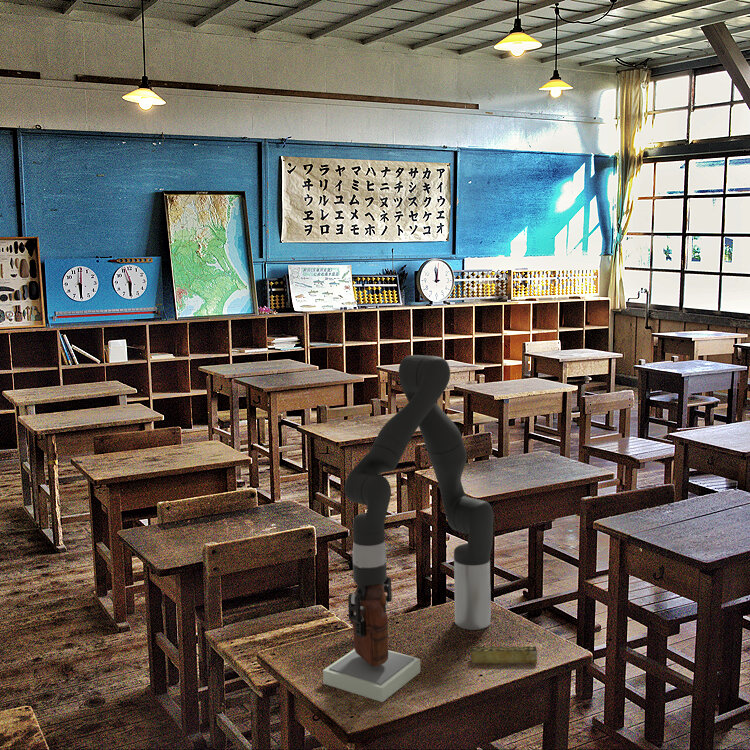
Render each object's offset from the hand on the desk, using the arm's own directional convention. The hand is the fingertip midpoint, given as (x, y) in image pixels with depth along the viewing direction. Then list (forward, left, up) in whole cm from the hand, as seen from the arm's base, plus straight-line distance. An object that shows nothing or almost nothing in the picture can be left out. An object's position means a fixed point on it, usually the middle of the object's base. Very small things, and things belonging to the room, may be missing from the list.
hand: (371, 629), depth 198 cm
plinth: (0, 0, -12) cm, 12 cm away
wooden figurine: (0, 0, -7) cm, 7 cm away
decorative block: (-23, +22, -12) cm, 34 cm away
